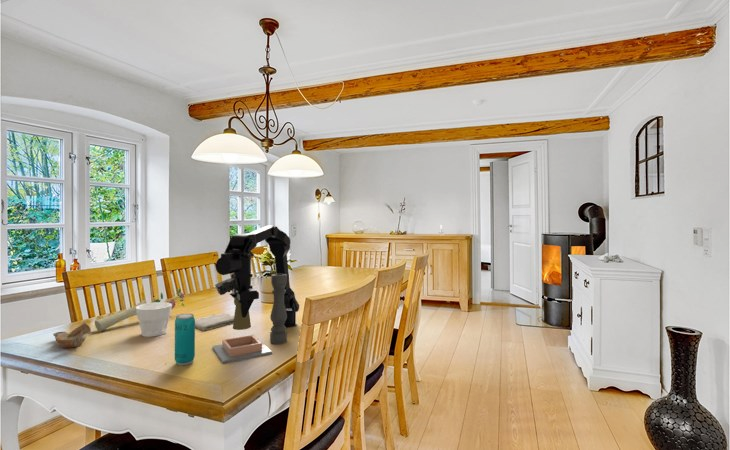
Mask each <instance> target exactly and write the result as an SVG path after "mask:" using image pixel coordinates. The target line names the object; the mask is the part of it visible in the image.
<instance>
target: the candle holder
mask: <svg viewBox="0 0 730 450" xmlns="http://www.w3.org/2000/svg"><path fill="white" fill-rule="evenodd" d="M270 281H271V286H272V288H273V289H272V290H271V294H273V303H272V307H271V311H270V315H269V316H270V320H271V322H272V326H271V328H270V332H269V333H270V335H269V342H270V344H273V345H283V344H285V343H287V342H288V331H287V327H285V325H284V324H285V321H286V319H287V313H286V309H285V304H284V294H285V293H286V290H285V289H284V288H285V286H286V283H287V274H276V273H271V280H270Z"/></svg>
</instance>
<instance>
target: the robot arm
mask: <svg viewBox="0 0 730 450" xmlns="http://www.w3.org/2000/svg"><path fill="white" fill-rule="evenodd" d="M229 239H230V240H229V241H228V243H227V245H226V248H225V251H224V253H221V254H220V257H219V258H218V259H217V261H216V263H215V270H216V272H217V273H218V274H219V275H221V276H226V275H229V274H230V278H228V279H225V280H223V281H220V282H217V283H216V284H215V285H214V286H215V288H216V291H217V293H218V294H219V295H220V296H222V295H226V293H229V295H230V296H231V297H232V298H233V300H234V299H236V300H237V301H239V302H240V307H241V313H242V317H246V315H247V313H248V311H249V312H250V309H251V306H252V304H253V303H254V300H258V299H260V292H258V291H257V289H255V288H253V285H252V278H253V277H254V275H253V273H252V257H254V256H255V254H254V253H253V252H252V250H254V249H255V248H256V247H257V244H258V243H261V242H263V241H265V242H266V243H267V245H268V247H269V251H270V253H271V254H272V255H273V256H274V263H275V272H276V273H275V274H287V283H286V286H285V288H284V289H285V290H286V293H285V294H284V304H285V309H286V313H287V319H286V321H285V324H284V325H285V327H286V328H290V327H295V326H298V323H297V322H296V321H297V318H296V317H297V315H296V314H297V312H299V310H300V304H299V302H298V301H297V298H296V294H295V291H293V289H292V288H291V285H290V275H289V274H290V272H289V263H288V253H289V251H290V249H291V238H290V236H288V234H287V233H286V232H284V231H282V230H281V229H279V227H278V226H277V225H265V226H263V227H261V228H258V229H256V230H253V231H251V232H248V233H234V234H232V236H231V238H229ZM236 296H237V298H235V297H236Z"/></svg>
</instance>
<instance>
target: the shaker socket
mask: <svg viewBox="0 0 730 450" xmlns="http://www.w3.org/2000/svg"><path fill="white" fill-rule="evenodd" d="M221 341H222V343H221V344H217V345H215V344H214V345H212V350H213V352H214V353H215V354H216V355H217V357H218V358H219V360H220V361H221V363H222V364H227V363H232V362H238V361H243V360H249V359H253V358H257V357H263V356H269V355H272V354H273V351H272V350H271V349H270V348H269V347H268V346H267V345H266V344H265V343H264V342H263V341H261V340H260V339H259V338H257V337H256V336H255V335H253V334H249V335H242V336H237V337H231V338H226V339H225V338H224V339H222V340H221Z"/></svg>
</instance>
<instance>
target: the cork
mask: <svg viewBox="0 0 730 450" xmlns="http://www.w3.org/2000/svg"><path fill="white" fill-rule="evenodd" d="M235 298H237V296H236V297H235ZM233 304H234V305H235V309H234V315H233V316H234V322H233V323H232V329H233V330H235V331H242V330H243V331H244V330H248V329H250V328H251V327H252V325H251V324H252V323H251V317H250V315H251V314H250V310H249V311H248V313H247V315H246V317H242V313H241V307H240V302H239V301H237V300H236V299H234V298H233Z"/></svg>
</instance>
